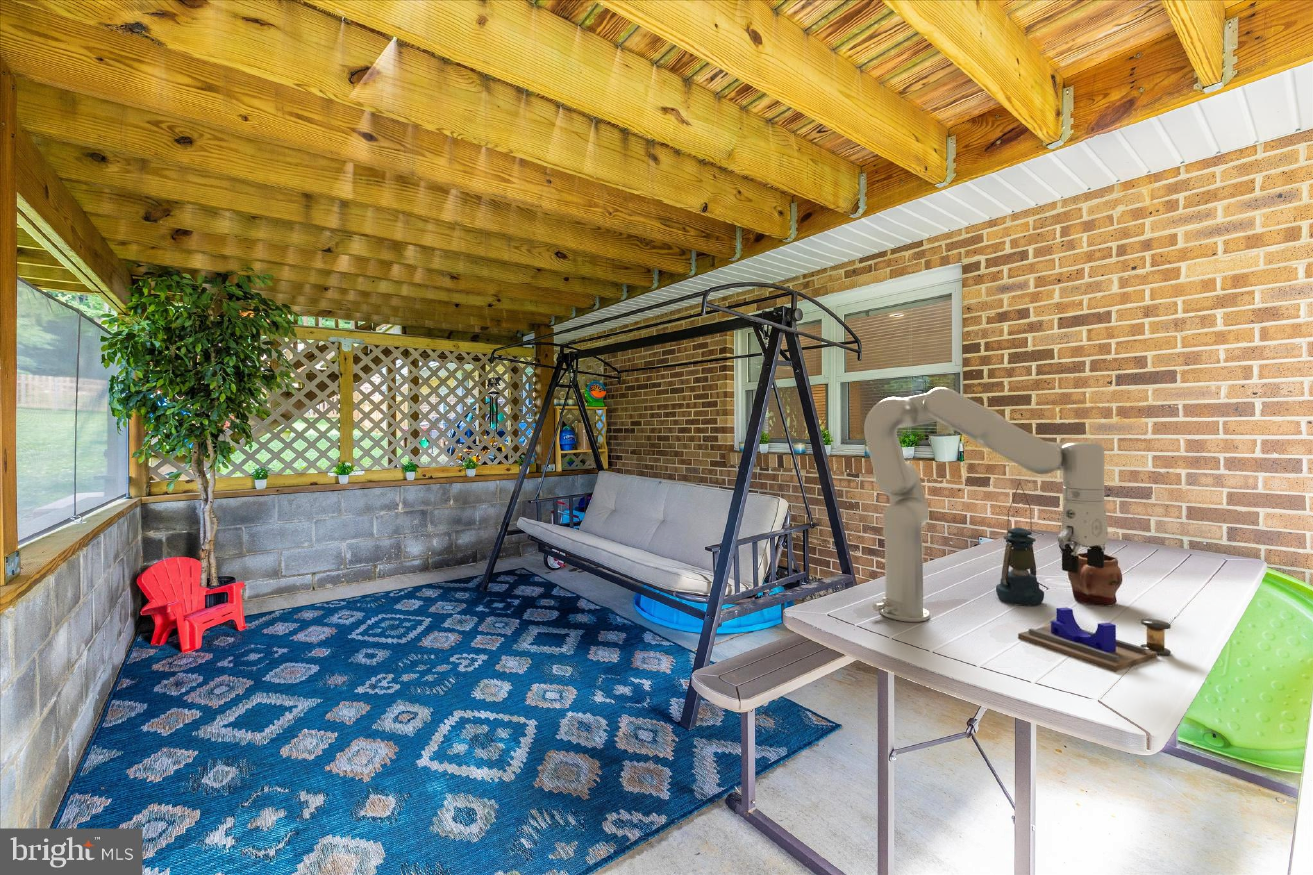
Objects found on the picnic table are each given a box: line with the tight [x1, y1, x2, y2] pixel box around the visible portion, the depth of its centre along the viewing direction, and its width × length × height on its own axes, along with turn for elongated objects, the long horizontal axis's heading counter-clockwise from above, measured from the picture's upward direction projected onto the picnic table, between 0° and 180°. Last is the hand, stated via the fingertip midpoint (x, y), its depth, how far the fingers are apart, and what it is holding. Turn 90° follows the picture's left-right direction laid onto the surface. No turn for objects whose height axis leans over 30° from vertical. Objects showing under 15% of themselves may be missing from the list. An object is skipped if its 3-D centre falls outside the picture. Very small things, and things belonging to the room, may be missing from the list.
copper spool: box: [1140, 618, 1172, 657], centre depth 122 cm, size 5×5×7 cm
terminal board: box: [1017, 624, 1158, 673], centre depth 125 cm, size 16×20×2 cm
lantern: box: [995, 482, 1045, 607], centre depth 159 cm, size 14×12×35 cm
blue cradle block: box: [1050, 607, 1117, 652], centre depth 125 cm, size 12×4×6 cm, turn 9°
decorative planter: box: [1067, 552, 1123, 607], centre depth 155 cm, size 20×12×14 cm, turn 132°
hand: (1083, 569), depth 125 cm, fingers open, 9 cm apart
